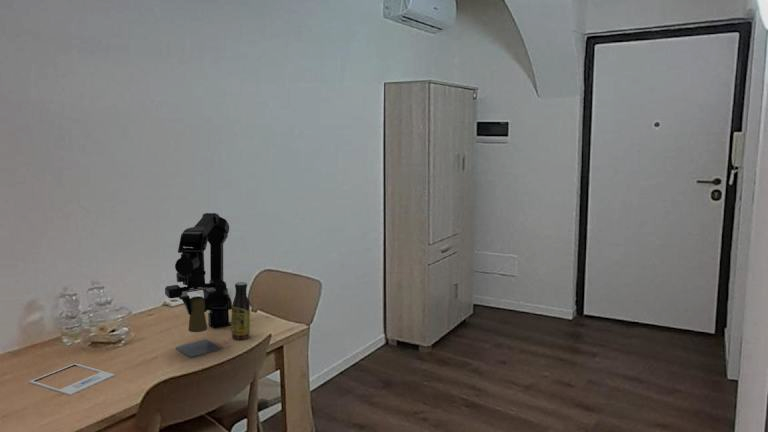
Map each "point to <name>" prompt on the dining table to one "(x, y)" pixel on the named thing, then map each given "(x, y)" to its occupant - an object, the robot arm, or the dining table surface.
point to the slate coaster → (198, 348)
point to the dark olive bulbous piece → (197, 315)
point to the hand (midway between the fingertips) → (197, 313)
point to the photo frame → (80, 384)
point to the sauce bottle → (240, 312)
